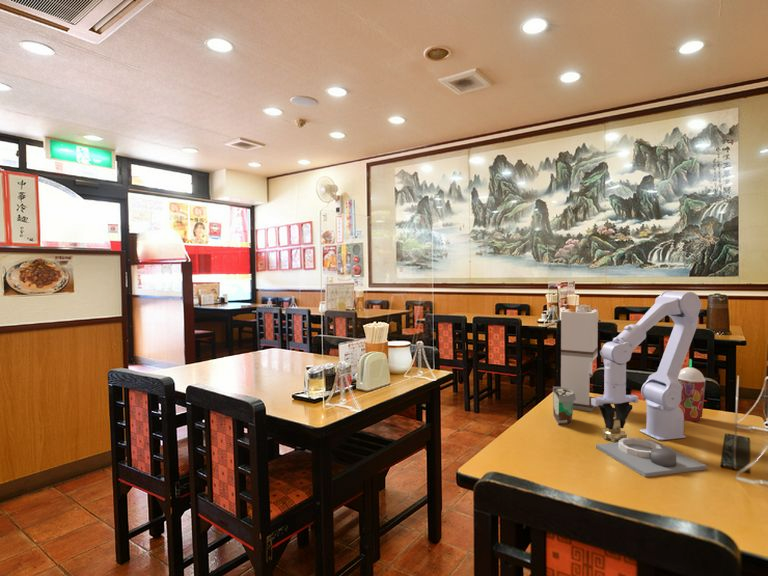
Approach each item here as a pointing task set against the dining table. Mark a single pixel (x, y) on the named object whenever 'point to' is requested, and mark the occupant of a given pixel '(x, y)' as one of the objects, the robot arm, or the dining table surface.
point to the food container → (563, 405)
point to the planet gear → (614, 431)
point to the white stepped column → (578, 354)
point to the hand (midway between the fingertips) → (614, 427)
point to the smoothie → (691, 392)
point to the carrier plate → (649, 457)
